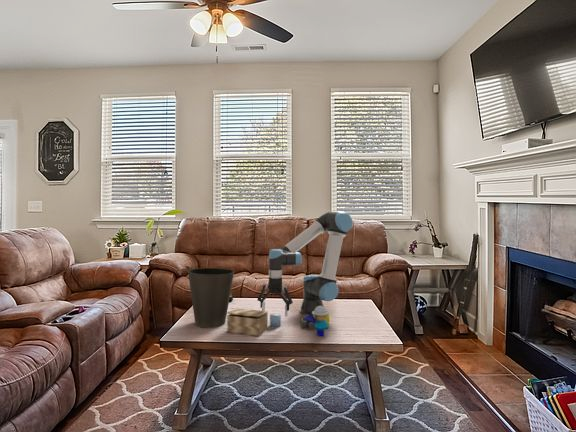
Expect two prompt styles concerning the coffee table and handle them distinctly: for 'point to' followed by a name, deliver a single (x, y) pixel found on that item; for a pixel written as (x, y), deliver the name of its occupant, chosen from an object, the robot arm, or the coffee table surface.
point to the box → (247, 324)
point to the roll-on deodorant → (275, 320)
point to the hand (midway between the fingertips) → (274, 315)
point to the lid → (247, 312)
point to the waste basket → (210, 295)
